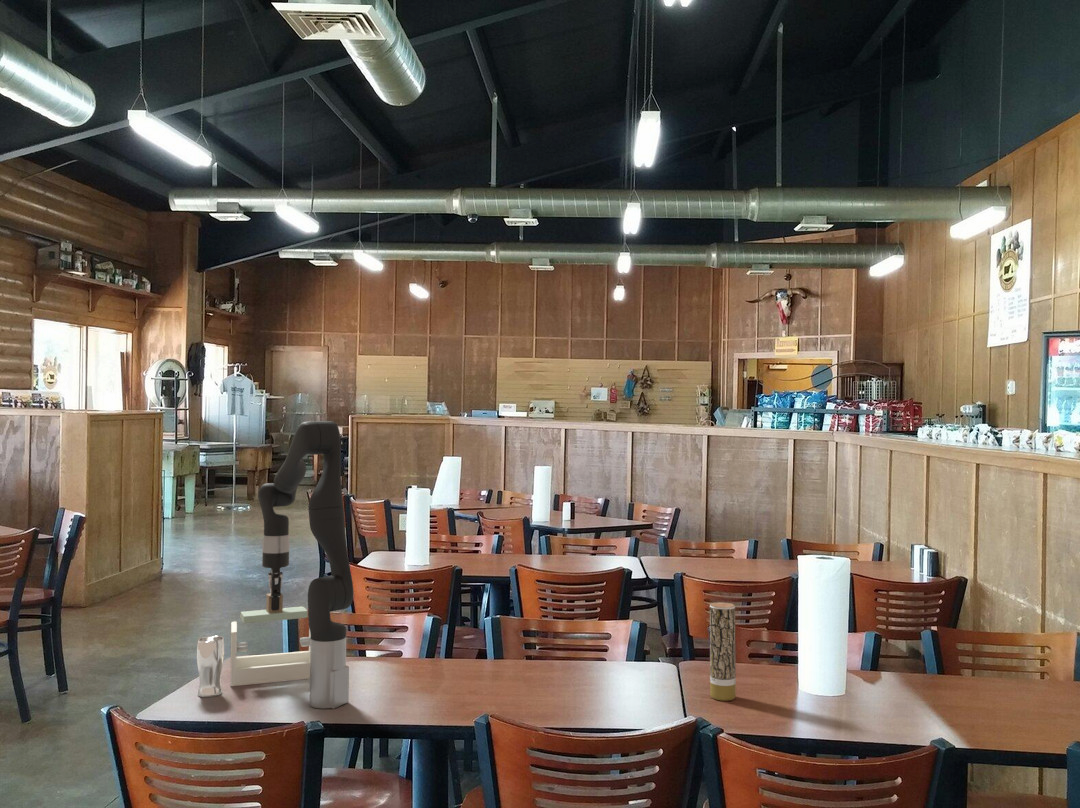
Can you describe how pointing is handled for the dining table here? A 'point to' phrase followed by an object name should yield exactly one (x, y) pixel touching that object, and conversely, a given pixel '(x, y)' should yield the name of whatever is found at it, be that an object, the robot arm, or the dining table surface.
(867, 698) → the dining table surface
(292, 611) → the shelf board
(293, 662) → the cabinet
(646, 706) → the dining table surface
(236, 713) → the dining table surface
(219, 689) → the beer glass
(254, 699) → the dining table surface
